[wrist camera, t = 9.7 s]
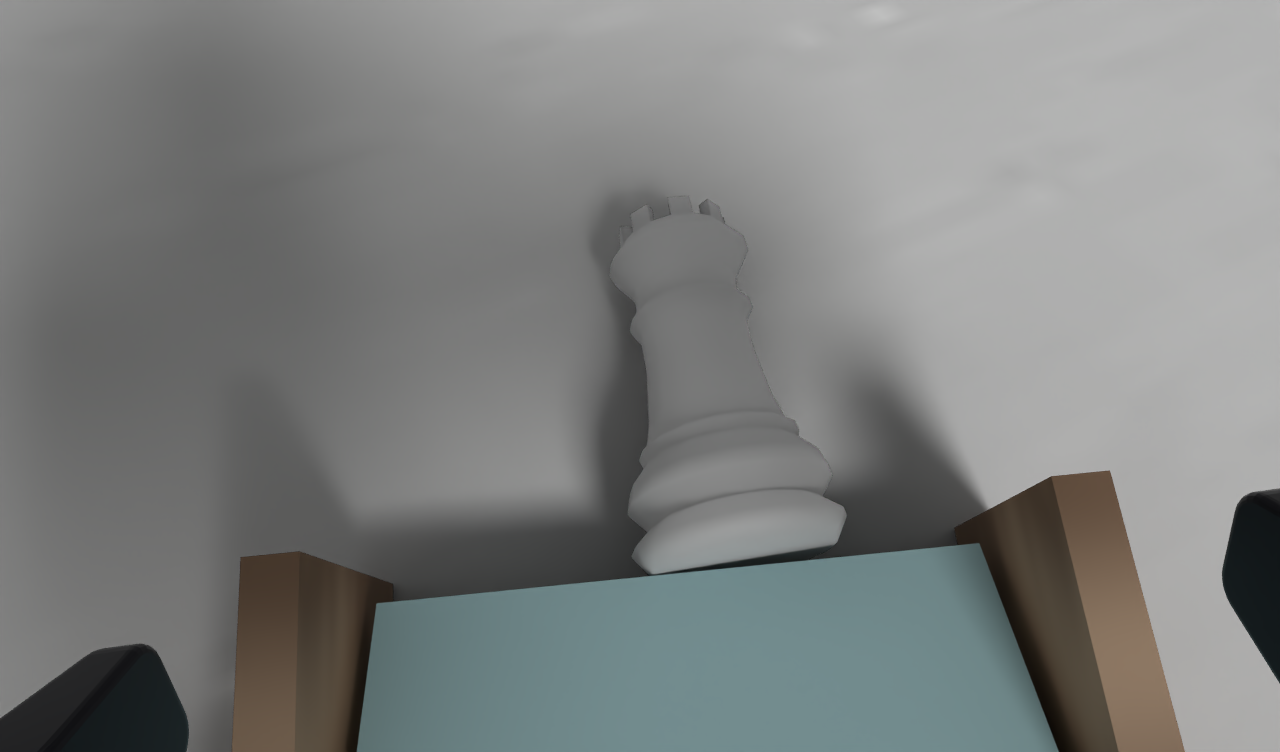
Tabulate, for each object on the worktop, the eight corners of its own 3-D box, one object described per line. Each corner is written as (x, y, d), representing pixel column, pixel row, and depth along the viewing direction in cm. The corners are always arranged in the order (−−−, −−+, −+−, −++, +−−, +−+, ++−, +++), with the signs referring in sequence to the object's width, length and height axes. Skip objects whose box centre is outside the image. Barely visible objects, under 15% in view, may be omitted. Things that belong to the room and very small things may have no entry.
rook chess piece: (644, 598, 20) (592, 290, 24) (841, 561, 20) (761, 256, 23) (623, 558, 16) (562, 192, 19) (868, 511, 16) (767, 150, 19)
